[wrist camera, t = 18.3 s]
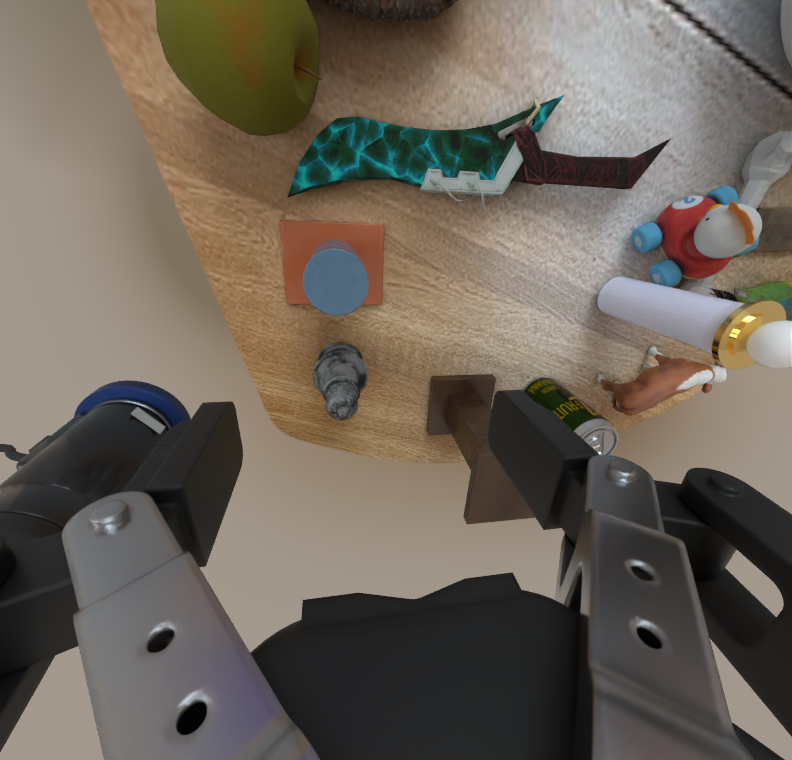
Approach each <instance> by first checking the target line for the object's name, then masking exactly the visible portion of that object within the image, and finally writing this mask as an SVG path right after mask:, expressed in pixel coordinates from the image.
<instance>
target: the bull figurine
mask: <svg viewBox="0 0 792 760" xmlns="http://www.w3.org/2000/svg"><path fill="white" fill-rule="evenodd" d="M648 354H651V355H654V357H655V359H656V360H657V361H658V362H659V366H656V367H652V368H651V367H650V366H649V364H644V366H643V367H642V368H643V370H642V372H640V373H639V374H638V375H637V376H636V377H634V378H632V380H633V381H632V382H629V383H626V384H620V380H616V381H614V383H612V382H609V381H606V380H605V378H604V375H603V373H599V374H598V375H597V377H598V378H597V379H596V380H597V381H598V382H599V383H601V385H602V386H603V389H605V390H610V391H612V392H613V393H611V392H607V395H606V396H607V398H608V399H609V401H610V402H611V403H612V404H613V408H614V409H615V410H617V411H619V412H622V413H624V414H626V415H635V414H638V413H640V412H642V411H644V410H646V409H649V408H652V407H654V406H655V405H657V404H658V403H660V402H662V401H664V400H666V399H668V398H670V397H672V396H674V395H676V394H679V393H683V392H685V391H688V390H689V389H691V388H692V387H694V386H697V385H701V384H704V383H705V384H704V385H703V388H702V391H703V392H704V393H708V392H709V391H710V390H711V389H712V384H714V383H715V384H720V383H723V382H724V381H725V380H726V377H727V374H726V373H727V371H726V369H725V368H722V367H723V366H722V365H719V364H718V363H717V362H716V361H715V365H705V364H701V363H696V362H689V361H686V360H685V359H681V358H675V359H671V358H668V357H665V356H664V355H663V354H662V353H658V351H657V349H656V346H655V345H652V346H650V348H649V352H648ZM616 400H617V402H618V404H619V407H620V408H618V407H617V406H616Z"/></svg>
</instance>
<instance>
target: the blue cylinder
mask: <svg viewBox="0 0 792 760" xmlns="http://www.w3.org/2000/svg"><path fill="white" fill-rule="evenodd" d="M368 287H369V280H368V275H367V272H366V269H365V267H364V265H363V264H362V262H361V260H360V258H359V257H358V255H357V253H356V251H355V250H354V249H353V248H352V247H351V246H350V245H349V244H347V243H345V242H343V241H340V240H328V241H325V242H323V243H321V244H320V245H319V246H318V247H317V248H316V249H315V250H314V252H313V254H312V256H311V258H310V260H309V262H308V264H307V266H306V268H305V270H304V274H303V288H304V291H305V294H306V296H307V298H308V300H309V301H310V302H311V304H312V305H313V306H314V307H316V308H317V309H318V310H320V311H322V312H324V313H326V314H330V315H345V314H348V313H351V312H353V311H354V310H356V309H357V308H358V307H359V306H360V305H361V304H362V303H363V301H364V300H365V298H366V296H367V293H368Z"/></svg>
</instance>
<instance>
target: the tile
mask: <svg viewBox="0 0 792 760" xmlns="http://www.w3.org/2000/svg"><path fill="white" fill-rule="evenodd" d="M280 229H281V240H282V252H283V263H284V274H285V286H286V297H287V304H311V302H310V301H309V300H308V298H307V296H306V294H305V291H304V288H303V274H304V270H305V268H306V266H307V264H308V262H309V260H310V258H311V256H312V254H313V252H314V250H315V249H316V248H317V247H318V246H319V245H320V244H321V243H323V242H325V241H328V240H340V241H343V242H345V243H347V244H349V245H350V246H351V247H352V248H353V249H354V250H355V251H356V253H357V255H358V257H359V258H360V260H361V262H362V264H363V265H364V267H365V269H366V272H367V275H368V280H369V287H368V293H367V296H366V298H365V300H364V301H363V303H362V304H372V305H381V304H382V286H383V248H384V225H383V224H362V223H338V222H315V221H292V220H280Z"/></svg>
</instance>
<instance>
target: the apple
mask: <svg viewBox="0 0 792 760" xmlns="http://www.w3.org/2000/svg"><path fill="white" fill-rule="evenodd" d="M155 2H156V17H157V31H158V34H159V38H160V41H161V44H162V47H163V51H164V54H165V57H166V60H167V62H168V63H169V65H170V66H171V68H172V69H173V71H174V72H175V74H176V75H177V77H178V78H179V80H180V81H181V82H182V83H183V84H184V85H185V86H186V87H187V89H188V90H189V91H190V92H191V93H192V94H193V95H194V96H195V97H196V98H197V99H198V100H199V101H200V102H201V103H202V104H203V105H204V106H205V107H206V108H207V109H209V110H210V111H211V112H212V113H214V114H215V115H216V116H217V117H219V118H220V119H222V120H224V121H226V122H227V123H229V124H231V125H233V126H235V127H237V128H238V129H240V130H242V131H244V132H246V133H248V134H250V135H261V136H267V135H274V134H282V133H287V132H289V131H290V130H291V129H292V128H294V127H295V126H296V125H298V124H299V123H300V122H301V121H303V120H304V118H305V117H306V116H307V114H308V113H309V111H310V108H311V106H312V103H313V101H314V97H315V93H316V89H317V85H318V79H321V78H320V77H319V64H320V42H319V34H318V27H317V24H316V22H315V19H314V17H313V15H312V13H311V10H310V8H309V6H308V3H307V1H306V0H155Z"/></svg>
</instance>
